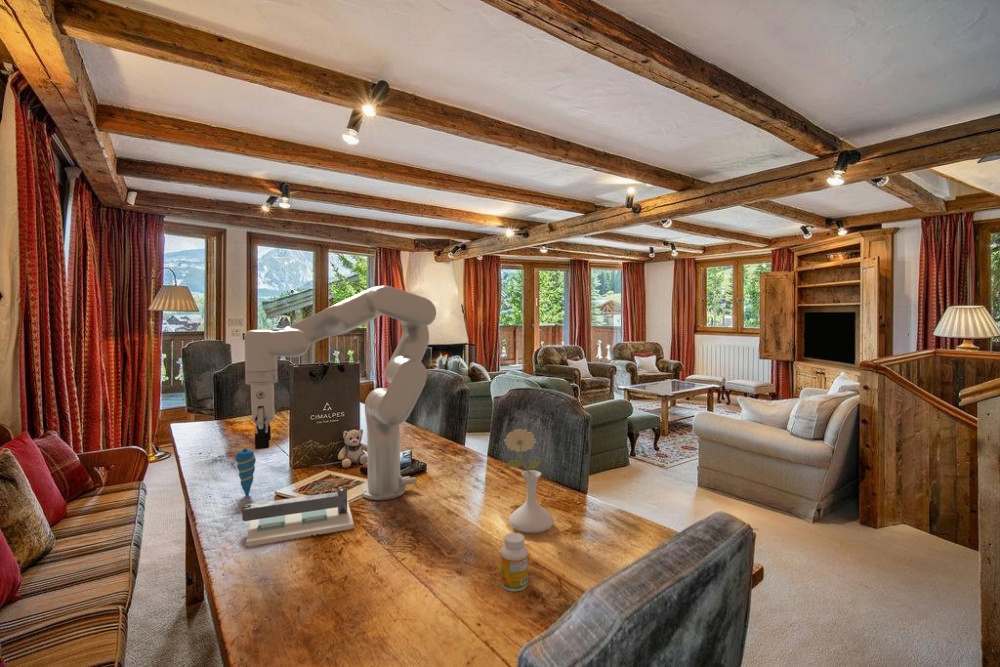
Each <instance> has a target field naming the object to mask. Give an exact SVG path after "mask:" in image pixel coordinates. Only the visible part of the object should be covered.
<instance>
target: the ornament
mask: <svg viewBox="0 0 1000 667" xmlns="http://www.w3.org/2000/svg"><path fill="white" fill-rule="evenodd" d="M235 460H236V462H237V465H236V468H237V469H238V477H239V479H240V486H241V488H242V490H243V492H244V494H245V496H249V494H250V492H251V487H252V485H253V482H254V473H255V470H256V467H255V464H256V461H257V459H256V455H255V452H254V451H253V450H252V449H248V448H247V446H246V445H244V446H243V448H242V449H241V450H239V451H238V452H237V453H236V455H235Z"/></svg>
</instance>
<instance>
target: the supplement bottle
mask: <svg viewBox="0 0 1000 667" xmlns="http://www.w3.org/2000/svg"><path fill="white" fill-rule="evenodd" d="M525 543H526V542H525V536H524V535H523V534H522V533H519V532H510V533H507V534H506V535H505V536H504V545H503V546H502V548H501V549H500V585H501V587H502V588H503V589H504V590H506V591H508V592H512V593H513V592H515V593H516V592H520V591H523V590H525V589H526V588H527V587H528V582H529V581H528V580H529V573H528V572H529V566H528V565H529V563H528V562H529V554H528V553H529V551H528V548H527V547H526V546H525Z"/></svg>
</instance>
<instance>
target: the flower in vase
mask: <svg viewBox="0 0 1000 667" xmlns="http://www.w3.org/2000/svg"><path fill="white" fill-rule="evenodd" d="M534 436H535V434H533V432H532V431H528V430H527V429H522V428H519V429H513V431H509V433H507V435H505V438H504V439H503V441H504V443H505V446H506V448H507V449H508V450H510V451H515V452H516V453H520V460H518V459H511V460H509V461H508V462H507V463H506V464H505V466H508V467H513V468H519V467H521V466H523V467H524V468H525V470H524V471H522V472H521V475H522V477H523V479H524V481H525V484H526V499H525V500H526V501H525V502H524V503H523V504H522V505H521V506H519V507H518V508H516V509H515V510H514V511H513V512H512V513H511V514H510V516H509V518H508V522H509V525H510V526H511V527H512V528H513V529H515V530H517V531H519V532H523V533H527V534H529V533H530V534H532V533H533V534H534V533H536V534H537V533H541V532H546V531H549V529H551V528H552V526H553V525H554V524H555V520H554V517H553V516H552V514H551V513H550V512H549V511H548V510H547V509H545V508H544V507H542V505H540V504H539V503H538V501H537V485H538V481H539V479H540V478H541V476H542V472H541V471H538V470H532V469H536V468H537V467H538V466H539V465H540V464H541V462H542V459H538V460H535V461H532V462H530V463H529V464H528V467H527V466H526V464H525V463H524V461H523V456H522V453H523V452H527V451H528V450H532V449H533V447H534V446H535V444H537V441H536V437H534Z"/></svg>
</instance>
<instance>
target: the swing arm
mask: <svg viewBox="0 0 1000 667" xmlns="http://www.w3.org/2000/svg"><path fill="white" fill-rule="evenodd" d="M347 501H348V489H347V488H346V487H340V488H338V489H337V491H335V492H333V491H332V492H327V493H326V492H325V493H320V494H312V495H305V496H300V497H299V496H298V497H289V498H284V499H278V500H270V501H269V500H268V501H263V502H256V503H255V502H254V503H248V504H244V505H242V506H241V515H242V516H241V517H242V518H241V520H242V521H243V522H248V521H250V522H251V520H257V519H264V518H270V517H277V516H283V515H290V514H297V513H303V512H310V511H316V510H323V509H329V508H336V507H338V513H340V514H343V513H346V512H347Z"/></svg>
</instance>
